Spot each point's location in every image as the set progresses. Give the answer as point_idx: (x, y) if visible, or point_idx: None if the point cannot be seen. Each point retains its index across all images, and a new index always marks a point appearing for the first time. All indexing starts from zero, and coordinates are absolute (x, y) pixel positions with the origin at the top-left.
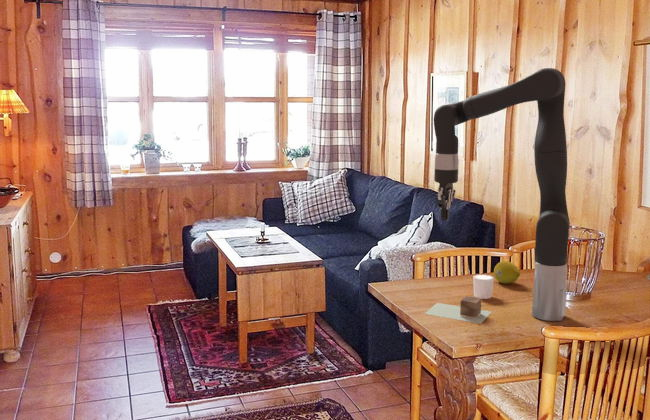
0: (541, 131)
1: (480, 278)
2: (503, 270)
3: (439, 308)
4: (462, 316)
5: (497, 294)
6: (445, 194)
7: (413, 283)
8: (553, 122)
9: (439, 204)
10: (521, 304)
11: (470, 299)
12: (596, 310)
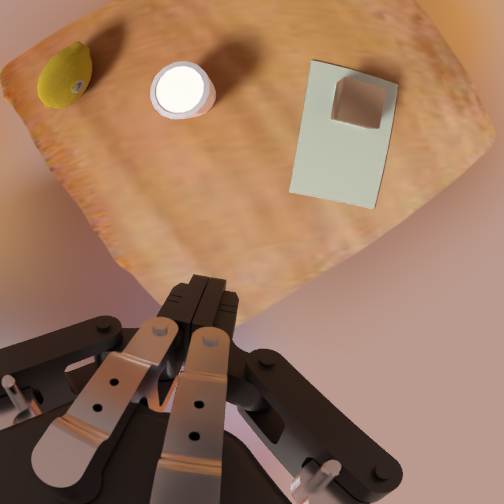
0: None
1: (194, 94)
2: (76, 75)
3: (330, 180)
4: None
5: None
6: (273, 488)
7: (159, 271)
8: None
9: (281, 418)
10: (222, 9)
11: (364, 104)
12: None
